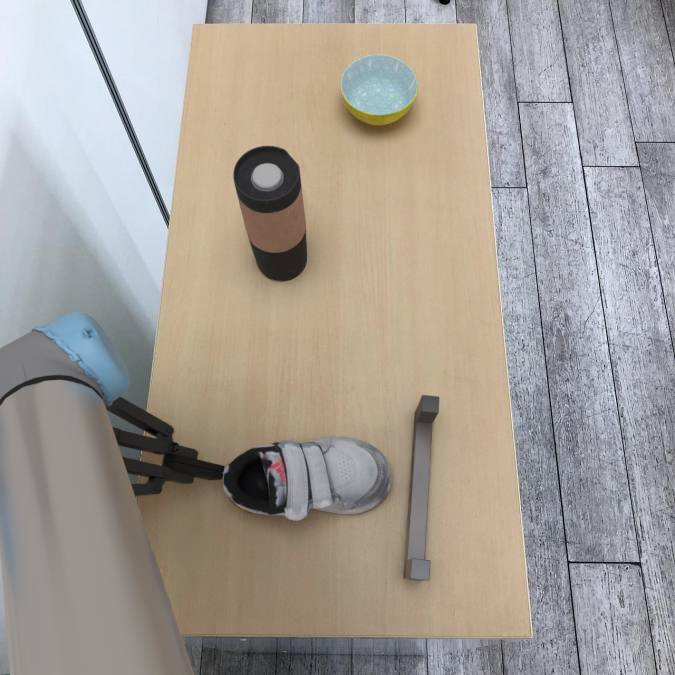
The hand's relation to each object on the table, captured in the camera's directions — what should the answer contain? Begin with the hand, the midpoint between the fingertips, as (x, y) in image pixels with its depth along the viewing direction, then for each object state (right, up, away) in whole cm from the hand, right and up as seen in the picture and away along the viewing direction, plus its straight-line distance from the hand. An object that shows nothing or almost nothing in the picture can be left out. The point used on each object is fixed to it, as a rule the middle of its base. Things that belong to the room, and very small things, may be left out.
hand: (216, 473), depth 74 cm
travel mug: (+6, +27, +15) cm, 31 cm away
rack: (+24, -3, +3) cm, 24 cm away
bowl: (+20, +51, +24) cm, 60 cm away
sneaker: (+11, -2, +4) cm, 12 cm away
